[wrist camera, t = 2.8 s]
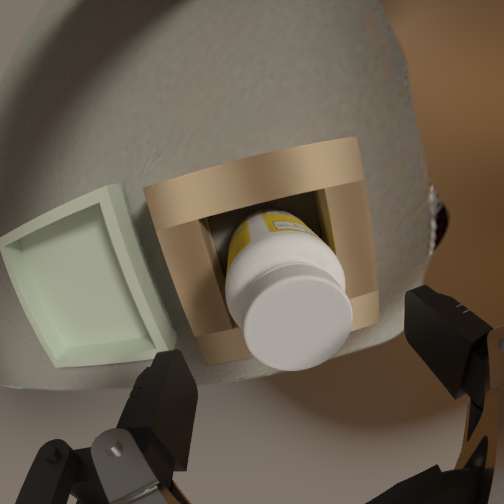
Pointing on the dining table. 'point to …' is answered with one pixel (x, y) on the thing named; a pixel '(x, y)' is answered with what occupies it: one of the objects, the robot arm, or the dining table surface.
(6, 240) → the tray
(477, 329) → the robot arm
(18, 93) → the dining table surface
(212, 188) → the holder block
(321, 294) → the supplement bottle
